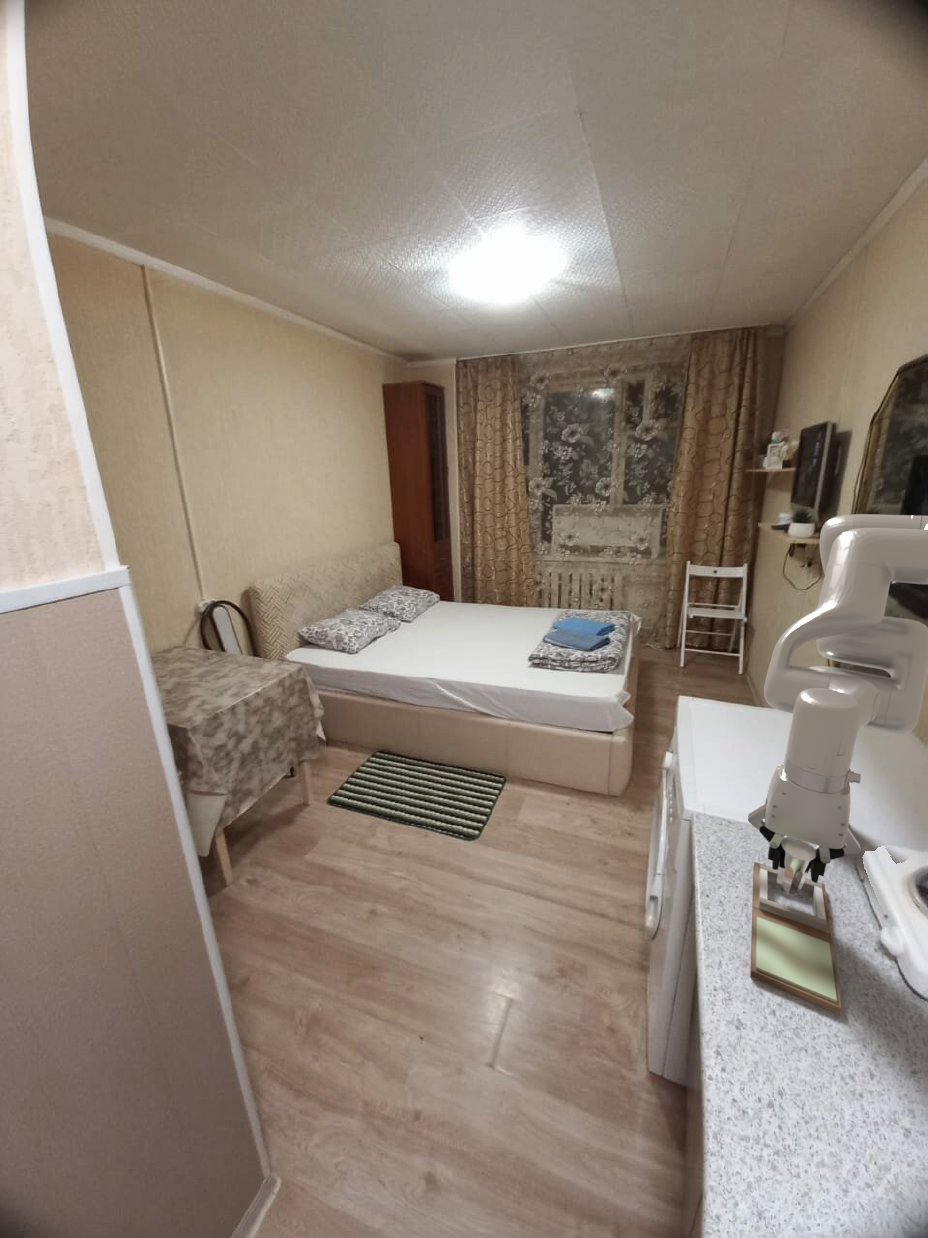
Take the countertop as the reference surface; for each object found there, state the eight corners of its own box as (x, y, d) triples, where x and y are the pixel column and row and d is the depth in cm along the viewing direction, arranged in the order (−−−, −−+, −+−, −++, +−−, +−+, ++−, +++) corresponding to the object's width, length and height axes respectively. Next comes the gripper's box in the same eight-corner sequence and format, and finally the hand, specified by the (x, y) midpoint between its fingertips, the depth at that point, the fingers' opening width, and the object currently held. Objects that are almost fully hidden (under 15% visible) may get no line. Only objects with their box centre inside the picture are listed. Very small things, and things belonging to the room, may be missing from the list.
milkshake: (815, 902, 75) (831, 852, 72) (777, 897, 76) (791, 847, 73) (802, 878, 79) (816, 830, 76) (766, 873, 80) (778, 825, 77)
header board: (753, 867, 85) (755, 856, 84) (823, 890, 80) (826, 878, 80) (750, 977, 67) (752, 963, 67) (839, 1015, 62) (843, 1001, 62)
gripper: (883, 773, 70) (857, 873, 75) (748, 744, 78) (734, 836, 84) (894, 805, 64) (865, 910, 69) (746, 769, 72) (731, 866, 78)
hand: (794, 868), depth 76 cm, fingers closed on milkshake, 4 cm apart
